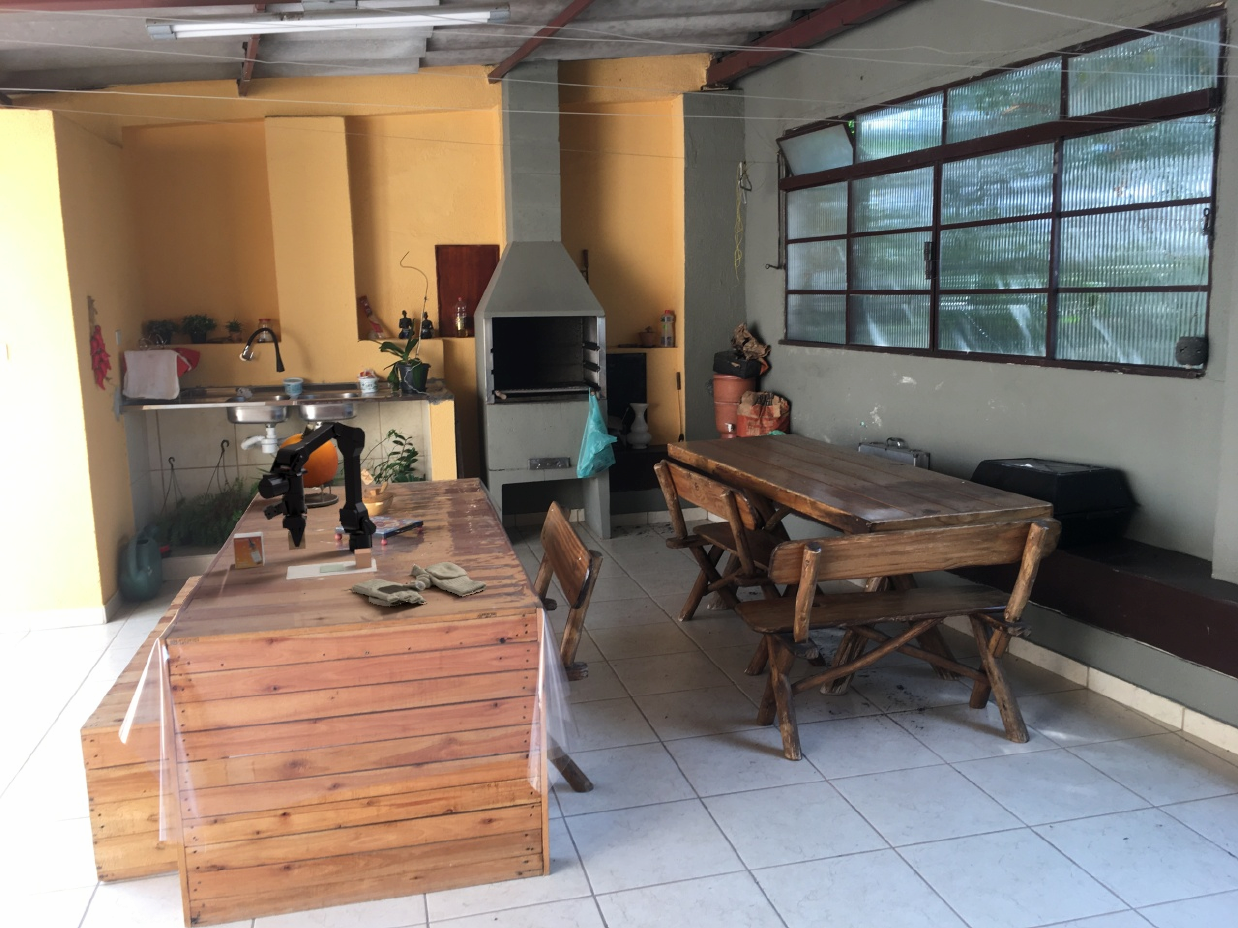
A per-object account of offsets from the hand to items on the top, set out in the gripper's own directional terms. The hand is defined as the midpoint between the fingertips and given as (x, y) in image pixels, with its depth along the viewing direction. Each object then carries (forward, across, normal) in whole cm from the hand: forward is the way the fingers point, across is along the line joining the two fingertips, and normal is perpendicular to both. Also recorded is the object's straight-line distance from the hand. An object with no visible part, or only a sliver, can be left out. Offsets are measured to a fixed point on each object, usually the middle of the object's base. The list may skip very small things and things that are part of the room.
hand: (297, 544), depth 295 cm
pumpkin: (+10, -97, +1) cm, 97 cm away
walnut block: (+1, 0, 0) cm, 1 cm away
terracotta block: (+8, 0, +18) cm, 20 cm away
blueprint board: (+9, 0, +9) cm, 13 cm away
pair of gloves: (+10, +25, +32) cm, 42 cm away
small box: (+10, -12, -14) cm, 21 cm away
